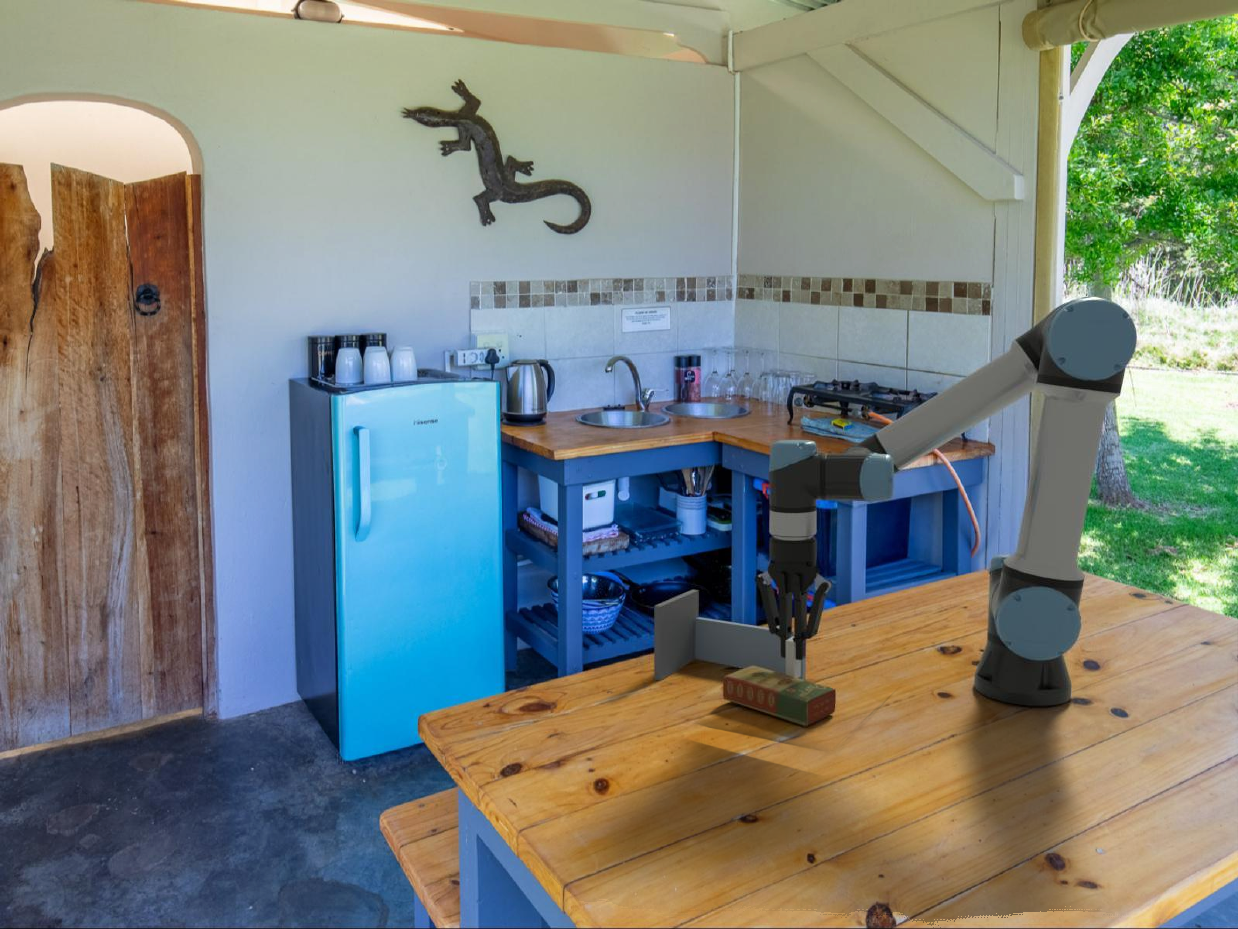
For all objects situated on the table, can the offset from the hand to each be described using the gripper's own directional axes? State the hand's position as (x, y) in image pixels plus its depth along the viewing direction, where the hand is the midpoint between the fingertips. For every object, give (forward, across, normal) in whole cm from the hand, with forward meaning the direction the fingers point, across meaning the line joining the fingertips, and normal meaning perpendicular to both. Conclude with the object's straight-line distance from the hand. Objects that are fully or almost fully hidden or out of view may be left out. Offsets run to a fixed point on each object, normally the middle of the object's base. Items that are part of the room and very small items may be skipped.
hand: (793, 677), depth 173 cm
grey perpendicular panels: (+3, +13, -3) cm, 13 cm away
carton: (+5, +6, +6) cm, 10 cm away
